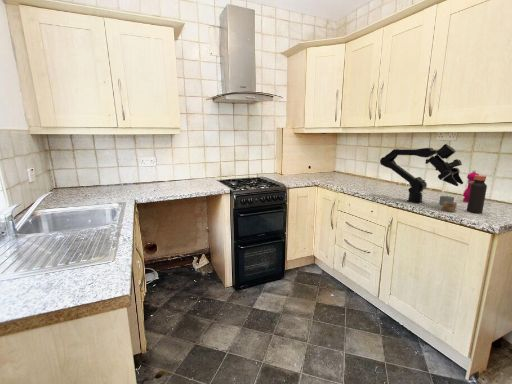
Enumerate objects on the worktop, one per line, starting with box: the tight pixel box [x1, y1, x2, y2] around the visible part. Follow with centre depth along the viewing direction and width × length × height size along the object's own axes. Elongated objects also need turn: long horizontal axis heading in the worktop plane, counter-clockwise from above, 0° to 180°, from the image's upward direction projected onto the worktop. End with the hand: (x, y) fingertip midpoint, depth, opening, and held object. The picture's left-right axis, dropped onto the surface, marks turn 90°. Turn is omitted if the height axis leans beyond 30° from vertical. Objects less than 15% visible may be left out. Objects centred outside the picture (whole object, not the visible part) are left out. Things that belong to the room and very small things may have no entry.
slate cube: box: [438, 195, 455, 206], centre depth 161 cm, size 5×5×5 cm
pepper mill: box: [462, 169, 480, 203], centre depth 166 cm, size 7×7×20 cm
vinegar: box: [466, 174, 488, 214], centre depth 144 cm, size 7×7×20 cm
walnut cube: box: [442, 201, 457, 214], centre depth 148 cm, size 5×5×5 cm
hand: (460, 184), depth 149 cm, fingers open, 9 cm apart
